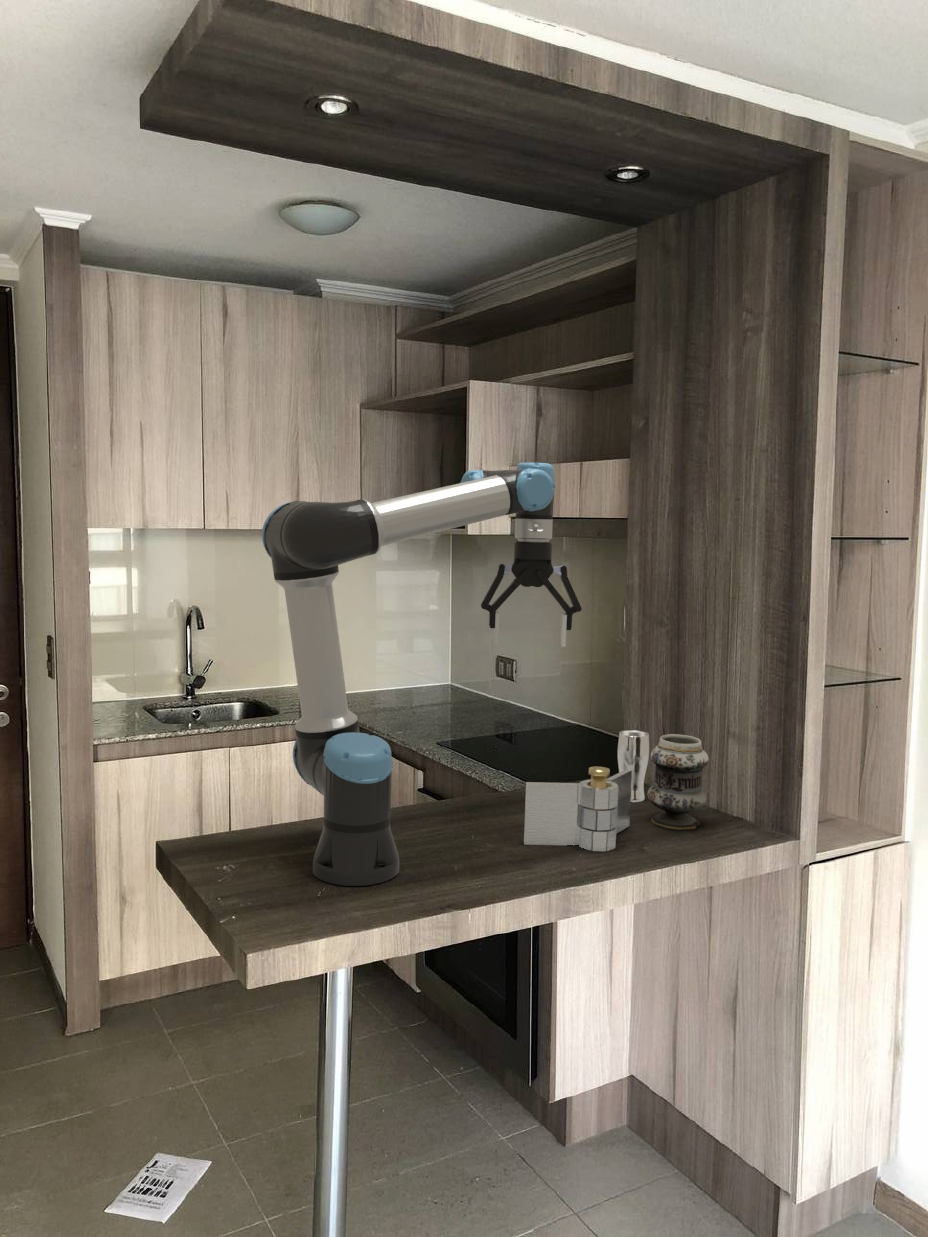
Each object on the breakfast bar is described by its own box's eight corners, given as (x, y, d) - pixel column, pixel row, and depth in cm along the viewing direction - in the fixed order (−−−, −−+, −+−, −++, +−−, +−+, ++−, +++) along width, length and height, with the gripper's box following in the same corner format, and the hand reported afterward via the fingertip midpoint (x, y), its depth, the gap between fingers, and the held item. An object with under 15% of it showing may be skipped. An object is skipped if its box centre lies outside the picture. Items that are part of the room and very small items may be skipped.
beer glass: (642, 804, 217) (645, 738, 216) (611, 800, 220) (614, 734, 219) (650, 796, 224) (653, 732, 222) (620, 792, 227) (623, 728, 225)
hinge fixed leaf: (525, 849, 186) (527, 788, 185) (522, 837, 193) (524, 778, 192) (617, 851, 186) (620, 790, 185) (611, 839, 193) (613, 779, 192)
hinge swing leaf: (605, 852, 185) (607, 791, 184) (571, 844, 189) (574, 785, 188) (642, 829, 199) (645, 772, 198) (610, 822, 203) (613, 766, 202)
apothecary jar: (697, 835, 197) (702, 748, 195) (639, 826, 202) (643, 740, 200) (710, 819, 208) (715, 736, 206) (654, 810, 213) (658, 729, 211)
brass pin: (586, 848, 188) (590, 771, 186) (583, 841, 192) (587, 766, 190) (607, 848, 188) (611, 772, 186) (603, 841, 192) (607, 766, 190)
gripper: (471, 539, 193) (468, 646, 195) (598, 542, 194) (593, 649, 196) (470, 538, 200) (467, 641, 203) (592, 541, 201) (587, 644, 203)
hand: (529, 645), depth 199 cm, fingers open, 13 cm apart
